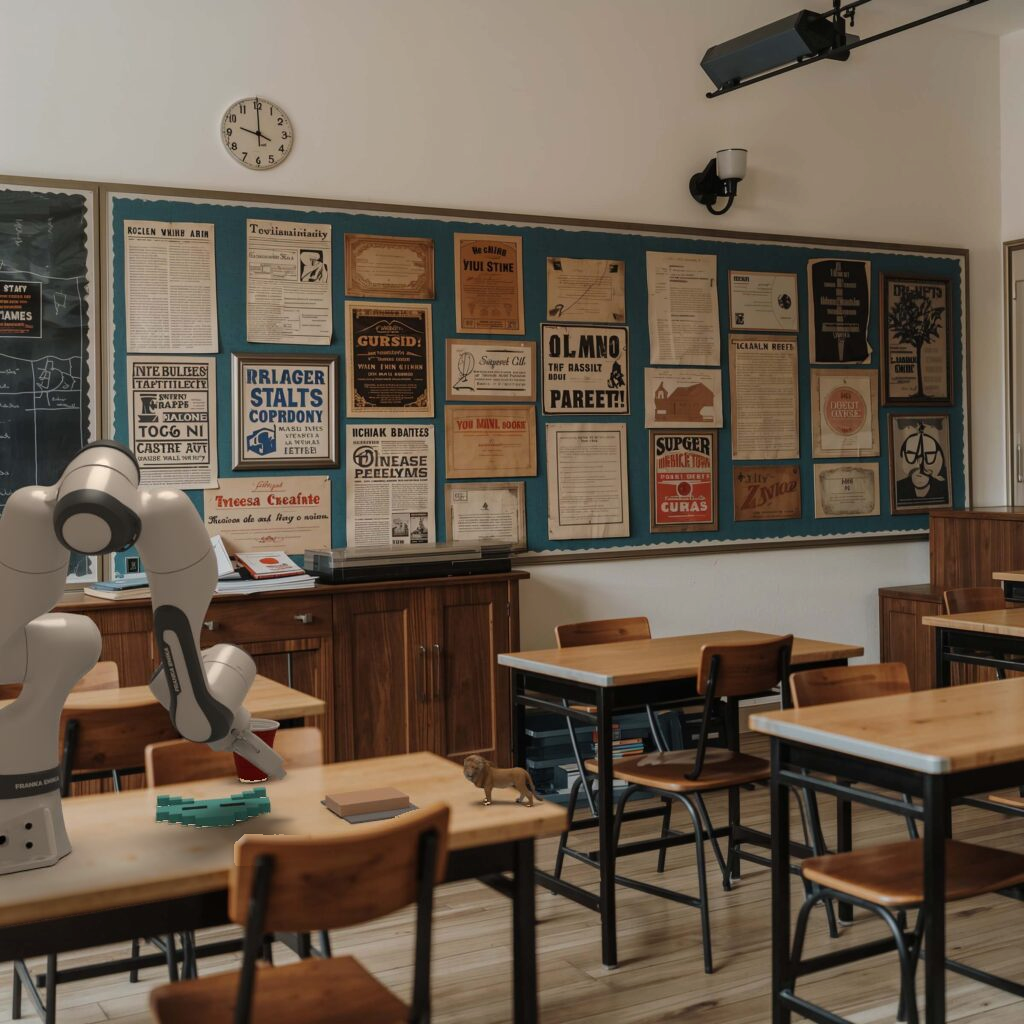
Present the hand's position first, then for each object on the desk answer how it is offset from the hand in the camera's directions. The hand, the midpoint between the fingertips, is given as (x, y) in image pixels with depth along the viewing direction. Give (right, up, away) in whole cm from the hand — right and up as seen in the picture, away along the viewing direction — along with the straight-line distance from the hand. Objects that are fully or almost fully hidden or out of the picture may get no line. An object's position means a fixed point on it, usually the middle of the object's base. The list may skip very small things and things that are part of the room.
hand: (282, 775), depth 219 cm
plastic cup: (-12, -8, +32) cm, 35 cm away
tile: (+9, -6, +3) cm, 11 cm away
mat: (+15, -7, +7) cm, 18 cm away
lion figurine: (+39, -7, +7) cm, 40 cm away
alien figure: (-14, -9, +6) cm, 17 cm away
